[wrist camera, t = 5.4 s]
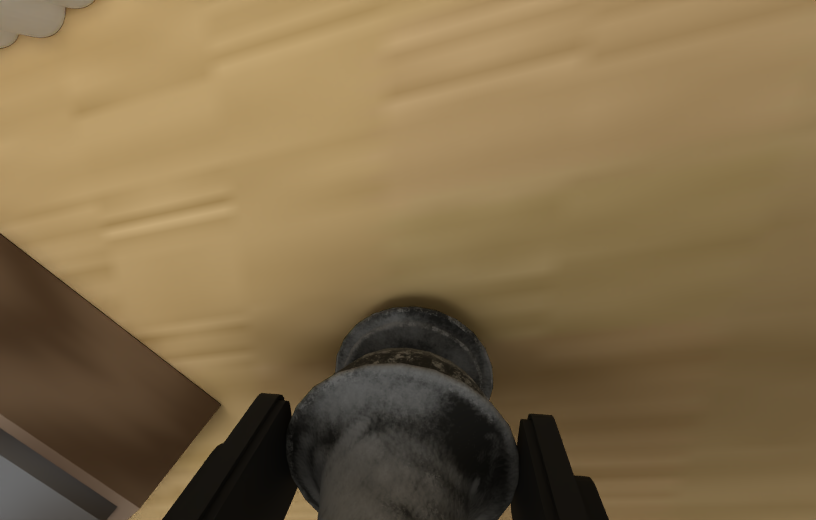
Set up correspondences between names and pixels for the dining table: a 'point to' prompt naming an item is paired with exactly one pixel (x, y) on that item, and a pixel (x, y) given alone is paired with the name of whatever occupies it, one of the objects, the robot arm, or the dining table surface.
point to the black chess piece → (405, 426)
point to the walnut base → (81, 404)
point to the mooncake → (33, 17)
